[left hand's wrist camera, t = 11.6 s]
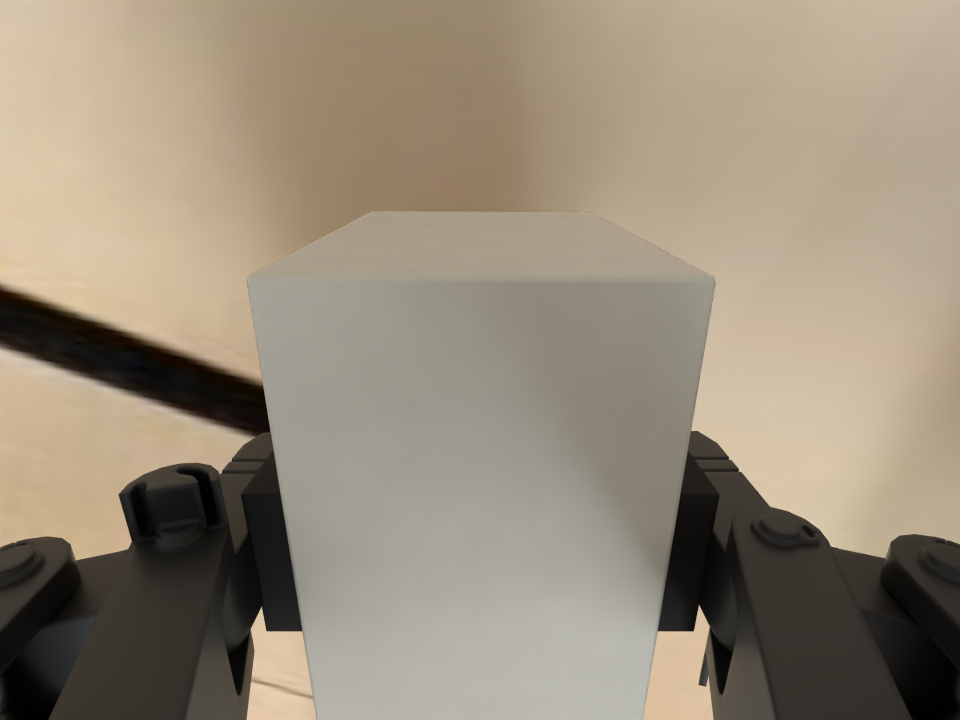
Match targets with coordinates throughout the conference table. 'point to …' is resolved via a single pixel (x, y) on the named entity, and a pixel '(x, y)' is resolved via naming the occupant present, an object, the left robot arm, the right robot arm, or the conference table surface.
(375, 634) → the post
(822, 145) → the conference table surface
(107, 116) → the conference table surface
